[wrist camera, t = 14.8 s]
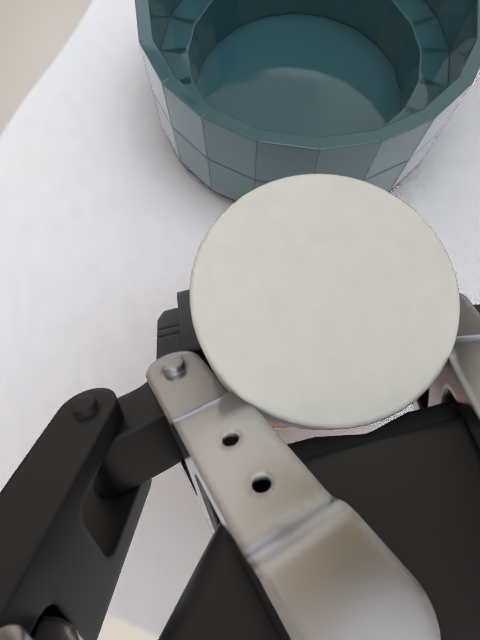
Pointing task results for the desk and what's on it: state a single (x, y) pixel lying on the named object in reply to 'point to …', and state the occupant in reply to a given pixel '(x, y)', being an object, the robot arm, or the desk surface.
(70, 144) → the desk surface
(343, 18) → the bowl
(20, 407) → the desk surface
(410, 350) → the pill bottle
